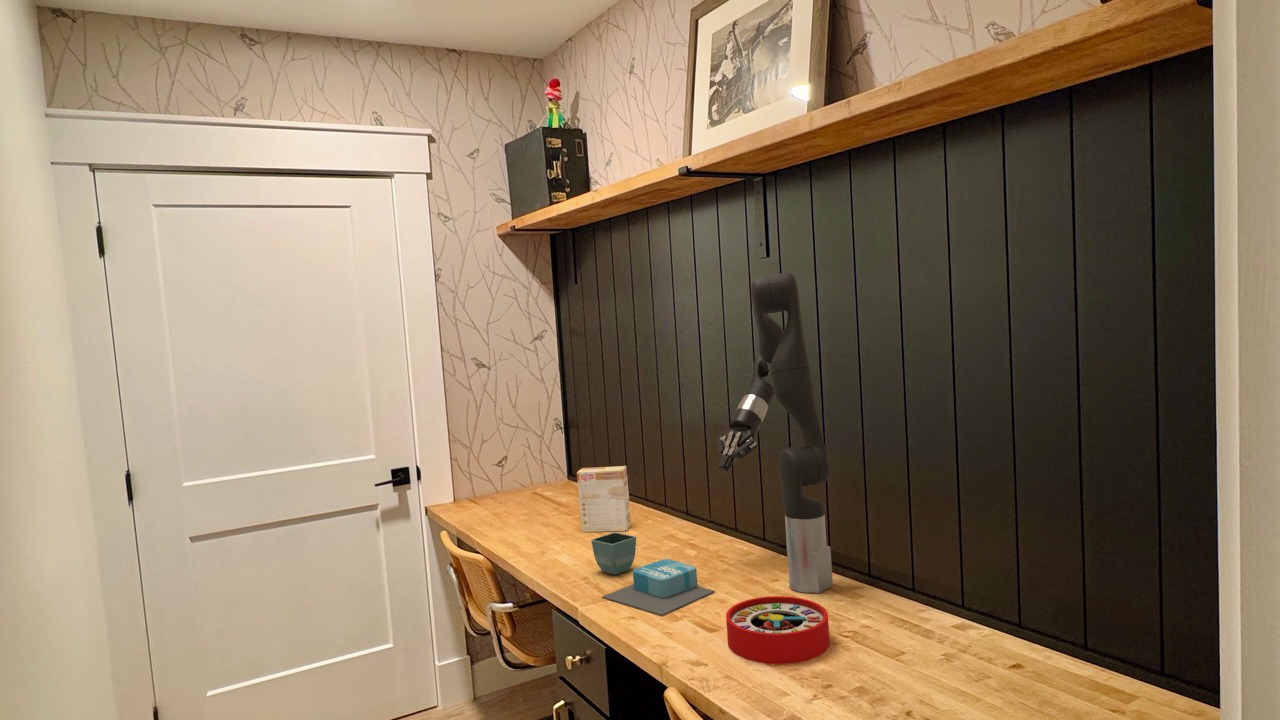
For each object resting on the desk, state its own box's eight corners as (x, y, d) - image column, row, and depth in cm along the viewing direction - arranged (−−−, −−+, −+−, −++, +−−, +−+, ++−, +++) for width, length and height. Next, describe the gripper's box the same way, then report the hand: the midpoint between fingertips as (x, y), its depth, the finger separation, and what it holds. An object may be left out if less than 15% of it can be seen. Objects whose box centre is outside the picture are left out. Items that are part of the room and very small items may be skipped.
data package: (699, 567, 191) (661, 580, 183) (700, 585, 191) (663, 599, 184) (666, 557, 200) (629, 570, 193) (667, 575, 200) (631, 588, 193)
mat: (714, 592, 187) (714, 590, 187) (662, 616, 174) (662, 614, 174) (655, 576, 201) (654, 575, 201) (602, 598, 189) (602, 596, 189)
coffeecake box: (631, 525, 253) (627, 465, 252) (627, 531, 246) (622, 469, 245) (586, 526, 256) (581, 467, 255) (581, 532, 249) (576, 471, 248)
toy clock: (728, 596, 168) (824, 595, 165) (730, 623, 168) (826, 622, 165) (722, 635, 148) (831, 634, 145) (725, 665, 149) (833, 665, 145)
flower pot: (617, 564, 214) (614, 531, 214) (639, 569, 208) (637, 536, 208) (592, 573, 208) (590, 539, 208) (615, 579, 202) (612, 544, 201)
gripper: (723, 406, 213) (696, 459, 205) (762, 407, 203) (735, 463, 195) (736, 423, 217) (710, 475, 209) (776, 425, 207) (750, 480, 199)
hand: (723, 469), depth 202 cm, fingers closed
